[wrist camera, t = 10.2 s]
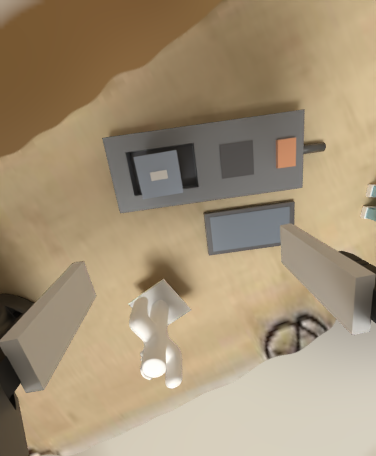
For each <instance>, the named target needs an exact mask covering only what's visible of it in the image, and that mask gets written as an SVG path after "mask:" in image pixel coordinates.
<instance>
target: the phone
mask: <svg viewBox="0 0 376 456" xmlns="http://www.w3.org/2000/svg"><path fill="white" fill-rule="evenodd" d="M294 204H295V202H294V201H287V202H280V203H273V204H266V205H258V206H251V207H244V208H237V209H230V210H223V211H216V212H208V213H204V219H205V228H206V237H207V246H208V254H209V255H216V254H223V253H230V252H237V251H244V250H252V249H259V248H266V247H273V246H280V245H281V239H280V225H285V224H290V223H292V224H293V225H294Z"/></svg>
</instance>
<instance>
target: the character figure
mask: <svg viewBox="0 0 376 456" xmlns="http://www.w3.org/2000/svg"><path fill="white" fill-rule="evenodd" d="M366 196H367V197H376V184H368V188H367V192H366ZM360 217H361V218H364V219H371V220H374V221H376V206H363V208H362V212H361V215H360Z"/></svg>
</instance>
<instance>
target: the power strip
mask: <svg viewBox="0 0 376 456" xmlns="http://www.w3.org/2000/svg"><path fill="white" fill-rule="evenodd" d="M304 110H305V109H304ZM304 110H297V111H290V112H283V113H276V114H269V115H262V116H255V117H247V118H240V119H233V120H226V121H219V122H212V123H205V124H198V125H191V126H184V127H177V128H170V129H163V130H155V131H148V132H141V133H134V134H127V135H120V136H113V137H106V138H102V139H103V143H104V147H105V152H106V156H107V160H108V164H109V169H110V173H111V177H112V181H113V185H114V190H115V194H116V198H117V202H118V207H119V211H120V213H125V212H133V211H140V210H147V209H154V208H161V207H168V206H175V205H183V204H190V203H197V202H204V201H211V200H218V199H225V198H233V197H240V196H247V195H254V194H261V193H268V192H275V191H283V190H290V189H297V188H302V184H303V154H307V153H314V152H321V151H324V150H325V148H326V145H325V143H324V142H323V143H316V144H309V145H304ZM173 150H177V155H178V161H179V167H180V173H181V179H182V186H183V193H178V194H172V195H166V196H160V197H154V198H149V199H143V197H142V193H141V188H140V184H139V179H138V175H137V171H136V166H135V162H134V157H138V156H143V155H149V154H155V153H161V152H167V151H173Z"/></svg>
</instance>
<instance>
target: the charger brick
mask: <svg viewBox="0 0 376 456" xmlns="http://www.w3.org/2000/svg"><path fill="white" fill-rule="evenodd" d="M134 162H135V166H136V171H137V175H138V179H139V184H140V188H141V193H142V197H143V199H149V198H154V197H160V196H166V195H172V194H178V193H183V186H182V179H181V173H180V167H179V161H178V155H177V150H173V151H167V152H161V153H155V154H149V155H143V156H138V157H134Z"/></svg>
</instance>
